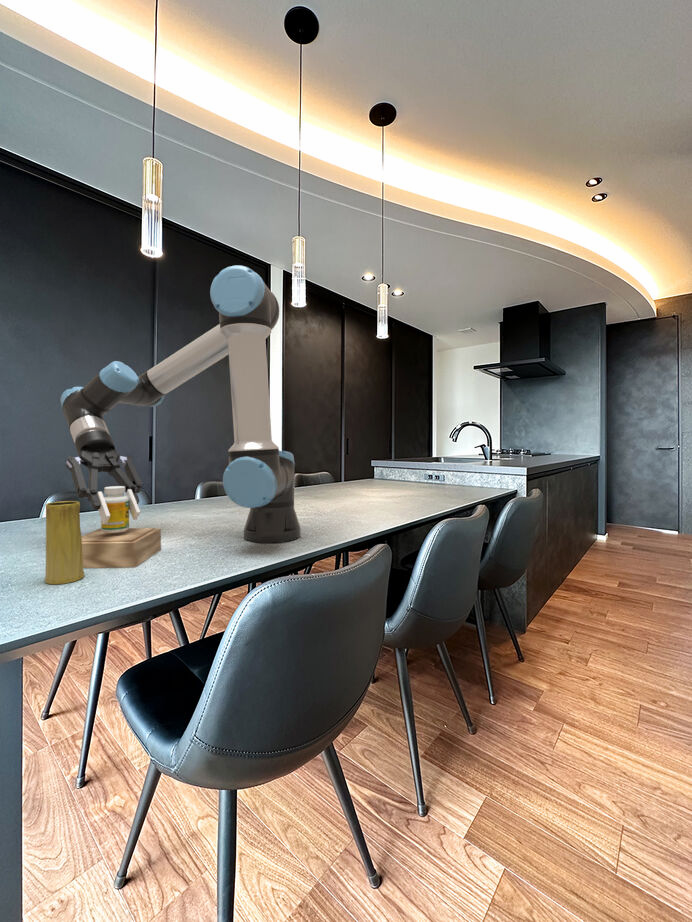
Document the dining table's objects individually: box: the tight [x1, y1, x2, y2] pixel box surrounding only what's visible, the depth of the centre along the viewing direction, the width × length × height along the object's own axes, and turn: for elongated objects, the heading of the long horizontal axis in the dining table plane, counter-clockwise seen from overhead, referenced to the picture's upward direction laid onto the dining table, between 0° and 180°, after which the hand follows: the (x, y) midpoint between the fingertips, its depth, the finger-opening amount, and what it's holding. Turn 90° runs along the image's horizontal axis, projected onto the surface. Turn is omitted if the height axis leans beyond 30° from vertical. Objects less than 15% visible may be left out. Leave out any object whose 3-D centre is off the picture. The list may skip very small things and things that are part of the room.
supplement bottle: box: [100, 485, 130, 533], centre depth 91 cm, size 5×5×10 cm
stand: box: [81, 527, 162, 569], centre depth 91 cm, size 14×14×5 cm
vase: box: [44, 500, 85, 585], centre depth 77 cm, size 6×6×14 cm
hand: (122, 517), depth 88 cm, fingers closed on supplement bottle, 5 cm apart
